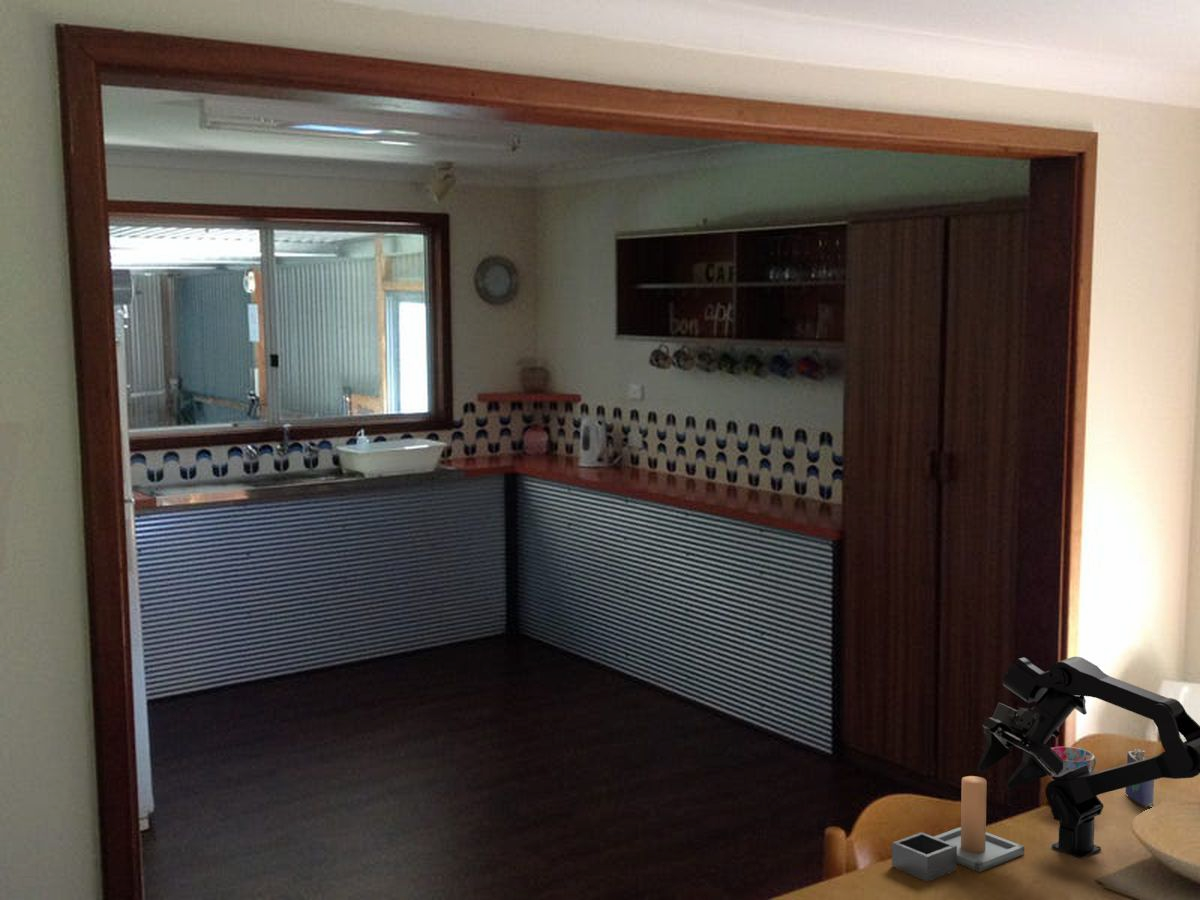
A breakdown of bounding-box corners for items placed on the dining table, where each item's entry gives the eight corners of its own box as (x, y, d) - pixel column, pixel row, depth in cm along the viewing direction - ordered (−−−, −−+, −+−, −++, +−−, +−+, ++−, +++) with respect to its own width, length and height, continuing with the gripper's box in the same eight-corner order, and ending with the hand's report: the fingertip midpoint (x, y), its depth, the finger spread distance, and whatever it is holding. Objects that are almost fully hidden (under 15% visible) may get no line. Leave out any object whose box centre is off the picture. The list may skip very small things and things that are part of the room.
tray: (966, 832, 248) (966, 824, 248) (1024, 854, 238) (1024, 846, 237) (921, 848, 240) (921, 841, 240) (979, 872, 230) (979, 864, 230)
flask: (1155, 808, 259) (1157, 756, 258) (1141, 809, 259) (1143, 757, 258) (1135, 792, 269) (1136, 742, 268) (1121, 792, 268) (1122, 742, 267)
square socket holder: (921, 855, 237) (921, 831, 237) (956, 870, 231) (956, 845, 230) (891, 866, 233) (892, 842, 232) (927, 881, 226) (927, 857, 226)
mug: (1071, 816, 256) (1072, 764, 255) (1034, 801, 264) (1035, 751, 263) (1112, 805, 261) (1114, 754, 260) (1075, 790, 269) (1076, 741, 268)
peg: (970, 841, 242) (971, 774, 241) (990, 849, 238) (991, 780, 237) (955, 847, 239) (956, 779, 238) (975, 855, 236) (976, 786, 235)
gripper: (992, 675, 247) (939, 736, 245) (1051, 703, 229) (995, 769, 227) (1027, 711, 250) (975, 772, 248) (1088, 742, 232) (1032, 808, 230)
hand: (993, 779), depth 238 cm, fingers open, 9 cm apart
